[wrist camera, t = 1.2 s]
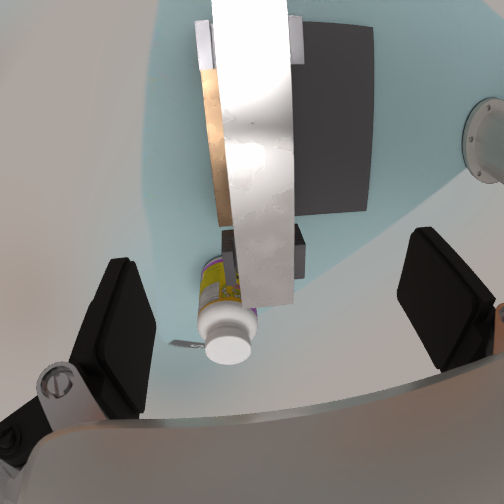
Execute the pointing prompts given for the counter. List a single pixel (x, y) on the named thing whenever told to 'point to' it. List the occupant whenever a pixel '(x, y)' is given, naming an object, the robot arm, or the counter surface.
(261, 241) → the rail
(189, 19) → the counter surface
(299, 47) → the rail stand
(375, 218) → the counter surface
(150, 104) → the counter surface
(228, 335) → the supplement bottle
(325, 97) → the mat
